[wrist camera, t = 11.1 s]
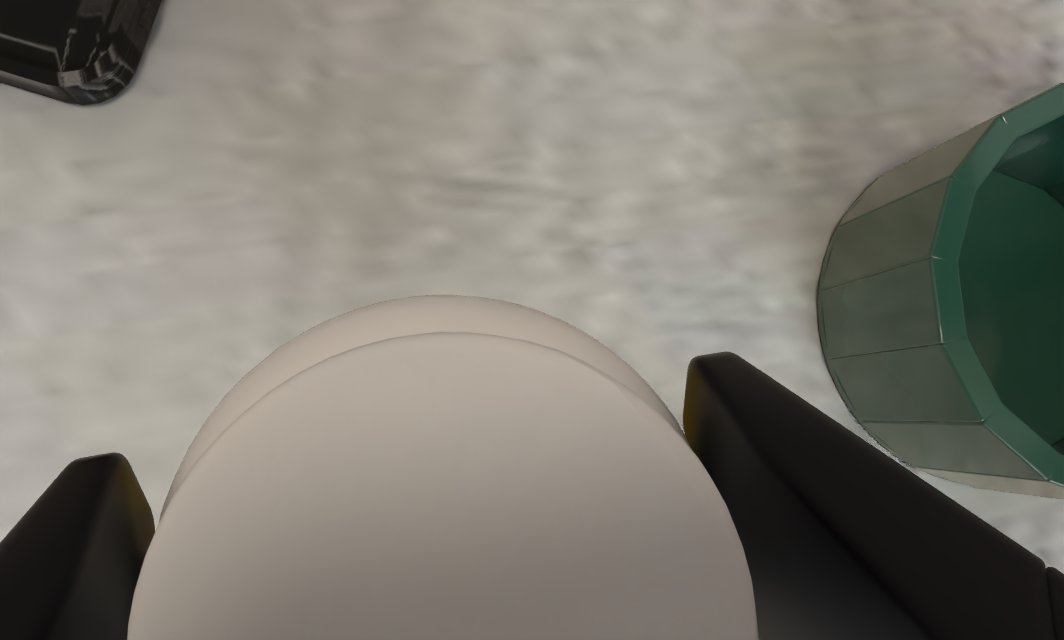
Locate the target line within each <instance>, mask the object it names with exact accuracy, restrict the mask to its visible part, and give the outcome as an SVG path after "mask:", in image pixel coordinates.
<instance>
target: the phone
mask: <svg viewBox="0 0 1064 640" xmlns="http://www.w3.org/2000/svg"><path fill="white" fill-rule="evenodd" d="M160 2H161V0H0V82H2V83H5V84H8V85H11V86H15V87H18V88H21V89H24V90H28V91H31V92H34V93H38V94H41V95H44V96H47V97H51V98H54V99H57V100H61V101H64V102H68V103H74V104H81V105H87V104H94V103H101V102H103V101H105V100H107V99H109V98H112V97H114V96H116V95H117V94H118V93H119V92H120V91H121V90H122V89H124V88H125V87H126V86H127V85H128V84H129V82H130V80H131V78H132V76H133V75H134V73H135V71H136V69H137V66H138V63H139V60H140V58H141V55H142V52H143V49H144V47H145V44H146V41H147V38H148V35H149V33H150V30H151V27H152V24H153V22H154V19H155V16H156V13H157V11H158V8H159V5H160Z"/></svg>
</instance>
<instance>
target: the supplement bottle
mask: <svg viewBox="0 0 1064 640" xmlns="http://www.w3.org/2000/svg"><path fill="white" fill-rule="evenodd" d="M127 640H758V627H757V618H756V609H755V601H754V593H753V586H752V579H751V576H750V572H749V568H748V564H747V560H746V557H745V553H744V549H743V546H742V543H741V541H740V538H739V536H738V533H737V530H736V528H735V525H734V523H733V520H732V518H731V515H730V513H729V510H728V508H727V505H726V504H725V502H724V500H723V498H722V496H721V495H720V493H719V491H718V489H717V487H716V486H715V484H714V482H713V480H712V479H711V477H710V475H709V474H708V472H707V471H706V469H705V468H704V466H703V464H702V463H701V461H700V460H699V458H698V457H697V456H696V455H695V453H694V452H693V451H692V449H691V447H690V445H689V443H688V441H687V439H686V437H685V435H684V433H683V431H682V430H681V428H680V426H679V424H678V423H677V421H676V419H675V418H674V416H673V415H672V413H671V412H670V411H669V409H668V408H667V406H666V405H665V404H664V402H663V401H662V400H661V399H660V398H659V396H658V395H657V394H656V393H655V392H654V391H653V389H652V388H651V387H650V386H649V385H648V384H647V383H646V382H645V381H644V379H643V378H642V377H641V376H640V375H639V374H638V373H637V372H636V371H635V370H634V369H633V368H632V367H631V366H629V365H628V364H627V363H626V362H625V361H623V360H622V359H621V358H620V357H619V356H617V355H616V354H615V353H614V352H613V351H611V350H610V349H609V348H607V347H606V346H604V345H603V344H602V343H600V342H599V341H597V340H596V339H594V338H593V337H591V336H589V335H588V334H586V333H584V332H583V331H581V330H580V329H578V328H576V327H574V326H572V325H570V324H568V323H566V322H564V321H562V320H560V319H558V318H555V317H552V316H550V315H547V314H545V313H542V312H539V311H537V310H534V309H531V308H528V307H525V306H522V305H519V304H514V303H509V302H505V301H500V300H495V299H488V298H481V297H472V296H457V295H426V296H415V297H408V298H401V299H394V300H389V301H385V302H380V303H376V304H372V305H369V306H366V307H363V308H360V309H357V310H353V311H350V312H347V313H345V314H342V315H340V316H337V317H335V318H333V319H330V320H328V321H325V322H323V323H321V324H319V325H317V326H315V327H313V328H311V329H309V330H307V331H306V332H304V333H302V334H300V335H299V336H297V337H296V338H294V339H292V340H291V341H289V342H287V343H286V344H284V345H283V346H281V347H279V348H278V349H276V350H275V351H274V352H273V353H271V354H270V355H269V356H268V357H267V358H265V359H264V360H263V361H262V362H261V363H259V364H258V365H257V366H256V367H255V368H253V369H252V370H251V371H250V372H249V373H248V374H246V375H245V376H244V377H243V378H242V379H241V380H240V381H239V382H238V383H237V384H236V385H235V386H234V387H233V389H232V390H231V391H230V392H229V393H228V394H227V395H226V396H225V397H224V398H223V399H222V401H221V402H220V403H219V405H218V406H217V407H216V408H215V410H214V411H213V412H212V414H211V415H210V416H209V417H208V419H207V420H206V421H205V423H204V424H203V426H202V428H201V429H200V431H199V432H198V434H197V436H196V437H195V439H194V440H193V442H192V444H191V445H190V447H189V449H188V451H187V453H186V455H185V457H184V459H183V461H182V463H181V465H180V467H179V469H178V471H177V473H176V475H175V478H174V480H173V483H172V485H171V488H170V490H169V493H168V495H167V498H166V501H165V504H164V507H163V509H162V512H161V516H160V521H159V524H158V526H157V529H156V531H155V534H154V536H153V539H152V541H151V543H150V546H149V548H148V551H147V553H146V556H145V558H144V561H143V565H142V568H141V571H140V575H139V578H138V582H137V585H136V588H135V592H134V596H133V601H132V607H131V612H130V618H129V623H128V635H127Z"/></svg>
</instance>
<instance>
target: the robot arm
mask: <svg viewBox="0 0 1064 640" xmlns="http://www.w3.org/2000/svg"><path fill="white" fill-rule="evenodd" d="M683 426H684V432H685V437H686V439H687V441H688V443H689V445H690V447H691V449H692V451H693V452H694V453H695V455H696V456H697V457H698V458H699V460H700V461H701V463H702V464H703V466H704V468H705V469H706V471H707V472H708V474H709V475H710V477H711V479H712V480H713V482H714V484H715V486H716V487H717V489H718V491H719V493H720V495H721V496H722V498H723V500H724V502H725V504H726V505H727V508H728V510H729V513H730V515H731V518H732V520H733V523H734V525H735V528H736V530H737V533H738V536H739V538H740V541H741V543H742V546H743V549H744V553H745V557H746V560H747V564H748V568H749V572H750V576H751V579H752V586H753V593H754V601H755V609H756V618H757V627H758V639H759V640H1064V574H1063V573H1061V572H1060V571H1058V570H1057V569H1055V568H1053V567H1048V568H1045V564H1044V562H1043V561H1042V560H1041V559H1040V558H1038V557H1037V556H1035V555H1034V554H1032V553H1031V552H1029V551H1028V550H1026V549H1025V548H1023V547H1022V546H1021V545H1019V544H1018V543H1016V542H1015V541H1013V540H1012V539H1010V538H1009V537H1007V536H1006V535H1004V534H1003V533H1001V532H1000V531H998V530H997V529H995V528H994V527H992V526H991V525H989V524H988V523H986V522H985V521H983V520H982V519H980V518H979V517H977V516H976V515H974V514H973V513H971V512H970V511H968V510H967V509H966V508H964V507H963V506H961V505H960V504H958V503H957V502H955V501H954V500H952V499H951V498H949V497H948V496H946V495H945V494H943V493H942V492H940V491H939V490H937V489H936V488H934V487H933V486H931V485H930V484H928V483H927V482H925V481H924V480H922V479H921V478H919V477H918V476H916V475H915V474H913V473H912V472H911V471H909V470H908V469H906V468H905V467H903V466H902V465H900V464H899V463H897V462H896V461H894V460H893V459H891V458H890V457H888V456H887V455H885V454H884V453H882V452H881V451H879V450H878V449H876V448H875V447H873V446H872V445H870V444H869V443H867V442H866V441H864V440H863V439H861V438H860V437H858V436H857V435H855V434H854V433H853V432H851V431H850V430H848V429H847V428H845V427H844V426H842V425H841V424H839V423H838V422H836V421H835V420H833V419H832V418H830V417H829V416H827V415H826V414H824V413H823V412H821V411H820V410H818V409H817V408H815V407H814V406H812V405H811V404H809V403H808V402H806V401H805V400H803V399H802V398H800V397H799V396H798V395H796V394H795V393H793V392H792V391H790V390H789V389H787V388H786V387H784V386H783V385H781V384H780V383H778V382H777V381H775V380H774V379H772V378H771V377H769V376H768V375H766V374H765V373H763V372H762V371H760V370H759V369H757V368H756V367H754V366H753V365H751V364H750V363H748V362H747V361H745V360H744V359H742V358H741V357H740V356H738V355H736V354H734V353H731V352H720V353H714V354H708V355H702V356H697V357H695V358H693V359H692V360H691V361H690V363H689V366H688V371H687V381H686V390H685V400H684V409H683ZM154 534H155V526H154V519H153V515H152V511H151V508H150V506H149V504H148V502H147V499H146V497H145V495H144V493H143V491H142V489H141V487H140V485H139V483H138V480H137V478H136V476H135V474H134V472H133V470H132V468H131V466H130V464H129V462H128V460H127V459H126V458H125V457H124V456H123V455H122V454H120V453H107V454H101V455H95V456H89V457H83V458H79V459H76V460H74V461H73V462H71V463H70V464H69V465H68V466H67V467H66V468H65V469H64V470H63V471H62V472H61V473H60V475H59V476H58V477H57V478H56V479H55V480H54V481H53V483H52V484H51V485H50V486H49V487H48V488H47V489H46V491H45V492H44V493H43V494H42V495H41V496H40V498H39V499H38V500H37V501H36V502H35V503H34V504H33V506H32V507H31V508H30V509H29V510H28V511H27V513H26V514H25V515H24V516H23V517H22V518H21V519H20V521H19V522H18V523H17V524H16V525H15V526H14V527H13V529H12V530H11V531H10V532H9V533H8V534H7V536H6V537H5V538H4V539H3V540H2V541H1V542H0V640H127V635H128V623H129V618H130V612H131V607H132V601H133V596H134V592H135V588H136V585H137V582H138V578H139V575H140V571H141V568H142V565H143V561H144V558H145V556H146V553H147V551H148V548H149V546H150V543H151V541H152V539H153V536H154Z"/></svg>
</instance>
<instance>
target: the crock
mask: <svg viewBox="0 0 1064 640" xmlns="http://www.w3.org/2000/svg"><path fill="white" fill-rule="evenodd" d="M818 324H819V331H820V337H821V343H822V348H823V352H824V355H825V358H826V362H827V365H828V368H829V371H830V373H831V375H832V378H833V380H834V382H835V384H836V387H837V389H838V391H839V393H840V394H841V396H842V398H843V399H844V401H845V403H846V404H847V406H848V408H849V409H850V411H851V412H852V413H853V415H854V416H855V417H856V419H857V420H858V421H859V422H860V424H861V425H862V426H863V428H864V429H865V430H866V431H867V432H868V433H869V434H870V435H871V436H872V437H873V438H874V439H875V440H876V441H877V442H878V443H879V444H881V445H882V446H883V447H884V448H886V449H887V450H888V451H890V452H891V453H892V454H894V455H895V456H896V457H897V458H899V459H901V460H903V461H904V462H906V463H908V464H910V465H911V466H913V467H915V468H916V469H919V470H921V471H924V472H926V473H928V474H931V475H933V476H936V477H939V478H943V479H947V480H950V481H954V482H958V483H961V484H964V485H967V486H970V487H973V488H980V489H988V490H995V491H1003V492H1010V493H1018V494H1025V495H1033V496H1040V497H1048V498H1055V499H1063V500H1064V83H1060V84H1058V85H1056V86H1054V87H1052V88H1050V89H1048V90H1046V91H1044V92H1042V93H1040V94H1038V95H1036V96H1034V97H1032V98H1030V99H1028V100H1026V101H1024V102H1022V103H1020V104H1018V105H1016V106H1014V107H1012V108H1010V109H1008V110H1007V111H1005V112H1003V113H1001V114H999V115H997V116H995V117H993V118H991V119H989V120H987V121H985V122H983V123H981V124H979V125H977V126H975V127H974V128H972V129H970V130H968V131H966V132H964V133H962V134H960V135H958V136H956V137H954V138H952V139H950V140H948V141H947V142H945V143H943V144H941V145H939V146H937V147H935V148H933V149H931V150H929V151H927V152H925V153H923V154H921V155H920V156H918V157H916V158H914V159H912V160H910V161H908V162H906V163H904V164H902V165H900V166H898V167H896V168H894V169H893V170H891V171H889V172H887V173H885V174H883V175H881V176H880V177H879V178H877V179H876V180H875V182H874V183H873V184H872V185H871V186H870V187H869V188H867V189H866V190H865V191H864V192H863V193H862V194H861V196H860V197H859V198H858V199H857V200H856V201H855V202H854V203H853V204H852V206H851V207H850V208H849V210H848V211H847V213H846V214H845V216H844V217H843V218H842V220H841V221H840V223H839V225H838V227H837V229H836V231H835V233H834V235H833V237H832V239H831V241H830V244H829V247H828V250H827V253H826V256H825V258H824V262H823V267H822V271H821V276H820V281H819V292H818Z"/></svg>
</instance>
